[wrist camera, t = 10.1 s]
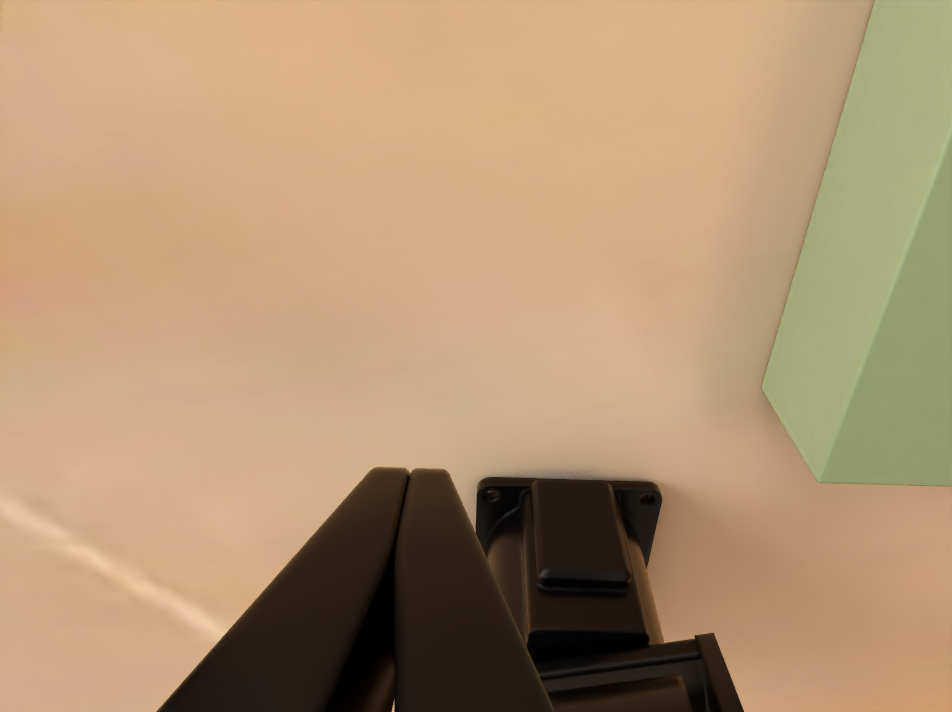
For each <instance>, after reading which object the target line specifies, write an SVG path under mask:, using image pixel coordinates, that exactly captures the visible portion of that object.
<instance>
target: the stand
mask: <svg viewBox="0 0 952 712" xmlns="http://www.w3.org/2000/svg"><path fill="white" fill-rule="evenodd" d="M761 389H762V391H763V393H764V394H765V396H766V398H767V399H768V401H769V403H770V404H771V406H772V408H773V409H774V411H775V413H776V414H777V416H778V418H779V419H780V421H781V423H782V424H783V426H784V428H785V429H786V431H787V433H788V434H789V436H790V438H791V439H792V441H793V443H794V445H795V446H796V448H797V450H798V451H799V453H800V455H801V456H802V458H803V460H804V461H805V463H806V465H807V466H808V468H809V470H810V471H811V473H812V475H813V476H814V478H815V480H816V481H817V482H819V483H847V484H881V485H916V486H950V487H952V0H875V2H874V5H873V9H872V12H871V15H870V19H869V22H868V26H867V29H866V32H865V36H864V39H863V43H862V46H861V49H860V53H859V56H858V60H857V63H856V67H855V70H854V73H853V77H852V80H851V84H850V87H849V90H848V94H847V97H846V101H845V104H844V107H843V111H842V114H841V118H840V121H839V124H838V128H837V131H836V135H835V138H834V141H833V145H832V148H831V152H830V155H829V158H828V162H827V165H826V169H825V172H824V175H823V179H822V182H821V186H820V189H819V192H818V196H817V199H816V203H815V206H814V209H813V213H812V216H811V220H810V223H809V226H808V230H807V233H806V237H805V240H804V243H803V247H802V250H801V254H800V257H799V260H798V264H797V267H796V271H795V274H794V277H793V281H792V284H791V288H790V291H789V294H788V298H787V301H786V305H785V308H784V312H783V315H782V318H781V322H780V325H779V329H778V332H777V335H776V339H775V342H774V346H773V349H772V352H771V356H770V359H769V363H768V366H767V369H766V373H765V376H764V380H763V383H762V386H761Z"/></svg>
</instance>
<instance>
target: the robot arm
mask: <svg viewBox="0 0 952 712" xmlns="http://www.w3.org/2000/svg"><path fill="white" fill-rule="evenodd" d="M489 490H493V491H496V492H495V493H488V492H486V491H489ZM645 495H651V496H649V497H645V498H644V497H643V496H645ZM661 502H662V496H661V493H660V489H659V487H658V486H657V485H656V484H654V483H652V482H640V481H605V480H571V479H536V478H502V477H489V478H485V479H483V480H481V481H480V482H479V483H478V486H477V507H476V533H475V531H474V528H473V526H472V524H471V522H470V519H469V517H468V515H467V513H466V510H465V508H464V506H463V504H462V501H461V499H460V497H459V495H458V492H457V490H456V488H455V486H454V483H453V481H452V479H451V477H450V475H449V473H448V472H447V471H446V470H444V469H427V468H416V469H414V470H412V472H411V473H409V471H408V470H407V469H406V468H392V467H376V468H374V469H372V470H371V471H370V472H369V473H368V474H367V475H366V476H365V477H364V478H363V479H362V481H361V482H360V483H359V484H358V485H357V486H356V487H355V488H354V490H353V491H352V492H351V493H350V494H349V495H348V496H347V497H346V499H345V500H344V501H343V502H342V503H341V504H340V505H339V506H338V508H337V509H336V510H335V511H334V512H333V513H332V514H331V515H330V517H329V518H328V519H327V520H326V521H325V522H324V523H323V525H322V526H321V527H320V528H319V529H318V530H317V531H316V532H315V534H314V535H313V536H312V537H311V538H310V539H309V540H308V541H307V543H306V544H305V545H304V546H303V547H302V548H301V549H300V550H299V552H298V553H297V554H296V555H295V556H294V557H293V558H292V559H291V561H290V562H289V563H288V564H287V565H286V566H285V567H284V568H283V570H282V571H281V572H280V573H279V574H278V575H277V576H276V578H275V579H274V580H273V581H272V582H271V583H270V584H269V585H268V587H267V588H266V589H265V590H264V591H263V592H262V593H261V594H260V596H259V597H258V598H257V599H256V600H255V601H254V602H253V603H252V605H251V606H250V607H249V608H248V609H247V610H246V611H245V612H244V614H243V615H242V616H241V617H240V618H239V619H238V620H237V621H236V623H235V624H234V625H233V626H232V627H231V628H230V629H229V631H228V632H227V633H226V634H225V635H224V636H223V637H222V638H221V640H220V641H219V642H218V643H217V644H216V645H215V646H214V647H213V649H212V650H211V651H210V652H209V653H208V654H207V655H206V656H205V658H204V659H203V660H202V661H201V662H200V663H199V664H198V665H197V667H196V668H195V669H194V670H193V671H192V672H191V673H190V674H189V676H188V677H187V678H186V679H185V680H184V681H183V682H182V683H181V685H180V686H179V687H178V688H177V689H176V690H175V691H174V693H173V694H172V695H171V696H170V697H169V698H168V699H167V700H166V702H165V703H164V704H163V705H162V706H161V707H160V708H159V709H158V711H157V712H392V707H393V702H394V698H395V712H744V710H743V708H742V705H741V702H740V700H739V697H738V695H737V692H736V690H735V687H734V684H733V682H732V679H731V677H730V674H729V671H728V669H727V666H726V664H725V661H724V658H723V656H722V653H721V651H720V648H719V646H718V643H717V640H716V638H715V635H714V633H708V634H701V635H695V639H689V640H682V641H675V642H668V643H664V640H663V636H662V632H661V628H660V623H659V619H658V615H657V611H656V607H655V603H654V599H653V595H652V591H651V587H650V582H649V578H648V574H647V570H646V569H647V565H648V561H649V556H650V552H651V547H652V543H653V538H654V534H655V529H656V525H657V520H658V516H659V511H660V507H661Z"/></svg>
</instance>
